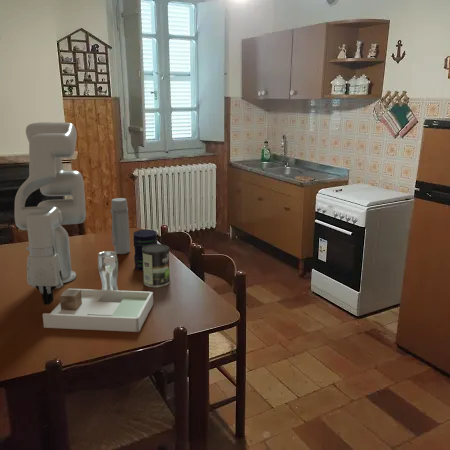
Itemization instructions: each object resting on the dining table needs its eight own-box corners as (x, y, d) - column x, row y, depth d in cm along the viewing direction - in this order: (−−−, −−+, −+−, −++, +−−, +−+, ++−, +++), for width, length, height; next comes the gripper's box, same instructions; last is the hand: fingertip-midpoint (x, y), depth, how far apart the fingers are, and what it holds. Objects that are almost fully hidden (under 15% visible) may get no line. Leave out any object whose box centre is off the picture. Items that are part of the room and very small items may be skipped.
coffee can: (173, 278, 177) (172, 244, 173) (165, 288, 167) (164, 253, 163) (149, 276, 179) (147, 242, 175) (139, 286, 169) (137, 251, 165)
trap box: (44, 327, 138) (42, 314, 137) (69, 300, 157) (68, 288, 156) (138, 331, 136) (138, 318, 135) (153, 303, 155) (153, 291, 154)
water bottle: (122, 248, 211) (119, 197, 204) (134, 251, 207) (131, 199, 200) (107, 253, 204) (103, 200, 197) (118, 257, 200) (115, 203, 193)
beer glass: (102, 297, 159) (99, 258, 155) (98, 290, 165) (95, 252, 161) (121, 294, 162) (119, 255, 158) (117, 287, 168) (114, 249, 164)
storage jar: (160, 263, 193) (159, 230, 189) (155, 271, 184) (153, 236, 180) (138, 262, 194) (136, 229, 190) (131, 270, 185) (129, 236, 181)
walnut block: (61, 309, 144) (59, 295, 143) (67, 303, 149) (66, 289, 148) (76, 310, 144) (74, 296, 143) (82, 303, 149) (80, 289, 147)
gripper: (14, 253, 139) (20, 307, 144) (60, 255, 138) (65, 309, 143) (26, 246, 146) (32, 297, 151) (70, 247, 145) (75, 299, 150)
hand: (48, 303), depth 147 cm, fingers closed
